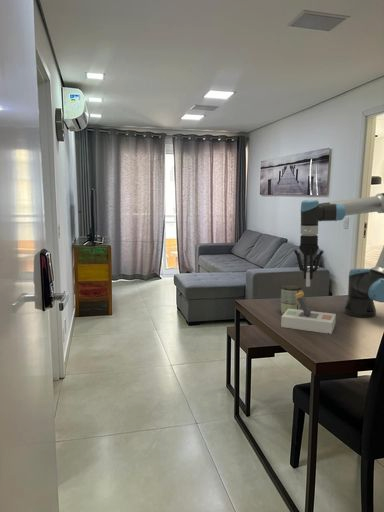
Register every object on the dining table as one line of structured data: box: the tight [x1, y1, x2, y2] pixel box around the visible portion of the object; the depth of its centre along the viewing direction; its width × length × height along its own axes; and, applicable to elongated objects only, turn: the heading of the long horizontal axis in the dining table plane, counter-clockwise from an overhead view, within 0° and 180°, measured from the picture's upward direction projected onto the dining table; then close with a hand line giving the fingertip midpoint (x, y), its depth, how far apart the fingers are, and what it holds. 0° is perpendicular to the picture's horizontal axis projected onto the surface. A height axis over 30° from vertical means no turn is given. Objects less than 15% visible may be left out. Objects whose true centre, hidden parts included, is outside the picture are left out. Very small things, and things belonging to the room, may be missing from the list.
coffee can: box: [280, 283, 303, 315], centre depth 197 cm, size 10×10×14 cm
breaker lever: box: [295, 290, 312, 316], centre depth 177 cm, size 3×6×11 cm, turn 153°
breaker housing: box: [280, 309, 337, 335], centre depth 177 cm, size 22×14×5 cm, turn 63°
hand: (308, 286), depth 175 cm, fingers closed
